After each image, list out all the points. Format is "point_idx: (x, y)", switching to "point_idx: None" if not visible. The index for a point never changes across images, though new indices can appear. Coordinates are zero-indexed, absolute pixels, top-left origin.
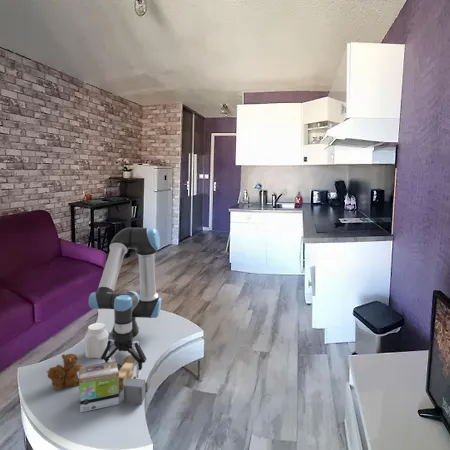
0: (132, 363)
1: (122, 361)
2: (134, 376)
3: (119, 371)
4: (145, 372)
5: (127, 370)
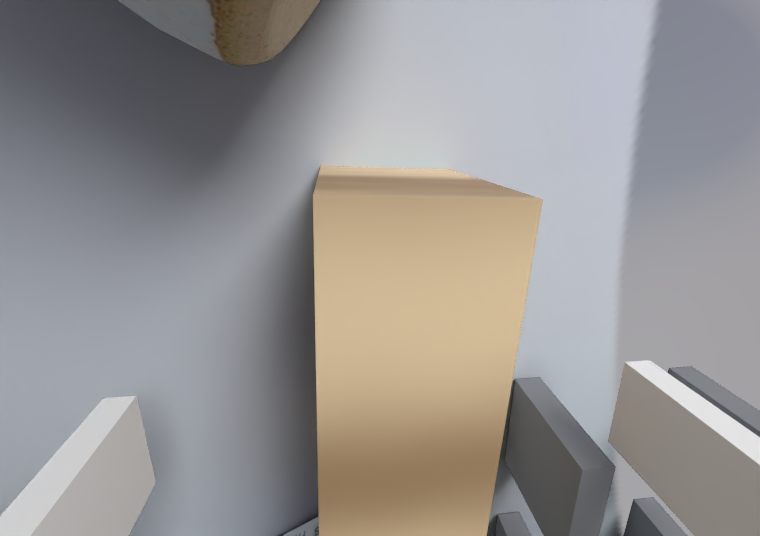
0: (521, 207)
1: (157, 18)
2: (593, 470)
3: (338, 524)
4: (611, 77)
5: (483, 470)
